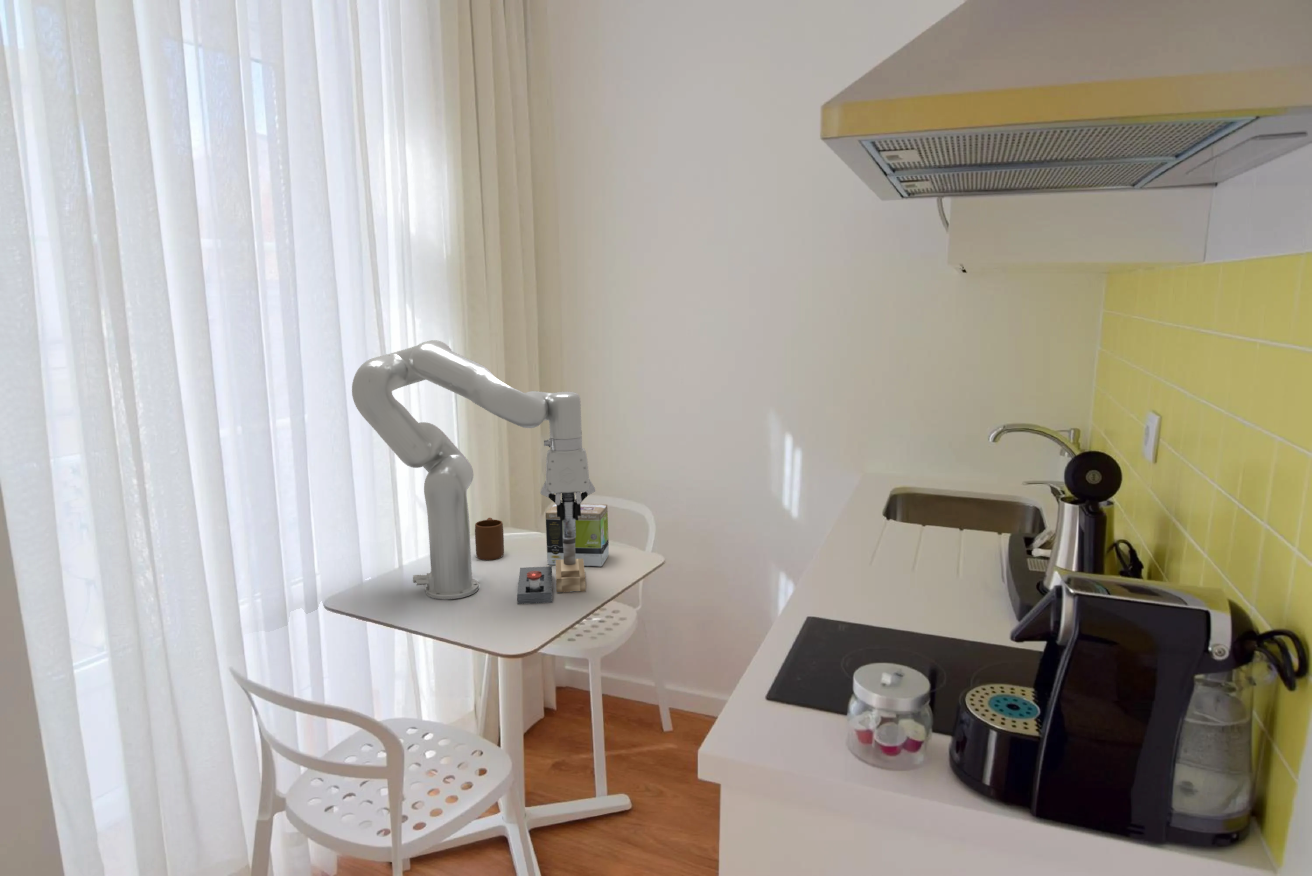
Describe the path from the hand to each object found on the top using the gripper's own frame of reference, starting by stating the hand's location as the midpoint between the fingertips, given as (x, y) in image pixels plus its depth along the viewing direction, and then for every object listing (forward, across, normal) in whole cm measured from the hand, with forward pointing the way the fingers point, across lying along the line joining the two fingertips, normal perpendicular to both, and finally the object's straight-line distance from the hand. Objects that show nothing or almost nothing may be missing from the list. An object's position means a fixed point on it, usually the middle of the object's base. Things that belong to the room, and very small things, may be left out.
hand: (569, 518), depth 189 cm
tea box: (+18, +2, +20) cm, 27 cm away
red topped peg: (+16, -9, -7) cm, 20 cm away
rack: (+18, 0, +4) cm, 18 cm away
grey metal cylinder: (+5, 0, 0) cm, 5 cm away
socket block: (+17, -9, 0) cm, 19 cm away
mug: (+17, -22, +29) cm, 40 cm away
